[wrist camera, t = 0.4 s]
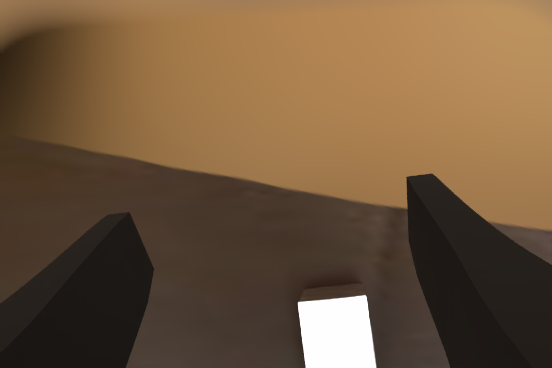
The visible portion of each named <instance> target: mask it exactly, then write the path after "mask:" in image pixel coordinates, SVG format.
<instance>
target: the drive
mask: <svg viewBox="0 0 552 368" xmlns="http://www.w3.org/2000/svg"><path fill="white" fill-rule="evenodd" d="M298 307H299V315H300V324H301V332H302V340H303V348H304V356H305V364H306V368H377V367H376V359H375V352H374V344H373V337H372V330H371V323H370V319H369V315H368V307H367V300H366V294H365V292H364V289H363V286H362V283H356V284H346V285H337V286H327V287H318V288H308V289H304V290H303V292H302V295H301V297H300V299H299V301H298Z"/></svg>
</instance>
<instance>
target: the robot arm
mask: <svg viewBox="0 0 552 368" xmlns="http://www.w3.org/2000/svg"><path fill="white" fill-rule="evenodd" d="M407 203H408V231H409V243H410V248H411V252H412V256H413V261H414V265H415V269H416V273H417V277H418V279H419V282H420V285H421V288H422V290H423V293H424V296H425V299H426V301H427V304H428V307H429V309H430V312H431V315H432V317H433V320H434V323H435V325H436V328H437V331H438V333H439V336H440V339H441V341H442V344H443V347H444V349H445V352H446V355H447V358H448V361H449V364H450V367H451V368H552V265H551V264H549V263H548V262H546V261H544V260H543V259H541V258H539V257H538V256H536V255H534V254H533V253H531V252H529V251H528V250H526V249H524V248H523V247H521V246H520V245H518V244H517V243H515V242H514V241H513V240H511V239H510V238H508V237H507V236H506V235H504V234H503V233H501V232H500V231H499V230H497V229H496V228H495V227H493V226H492V225H491V224H490V223H488V222H487V221H486V220H485V219H483V218H482V217H481V216H480V215H479V214H477V213H476V212H475V211H474V210H472V209H471V208H470V207H469V206H468V205H466V204H465V203H464V202H463V201H462V200H461V199H460V198H459V197H457V196H456V195H455V194H454V193H453V192H452V191H451V190H450V189H449V188H448V187H447V186H445V185H444V184H443V183H442V182H441V181H440V180H439V179H438V178H437V177H436V176H434V175H433V174H425V175H417V176H410V177H407ZM153 271H154V268H153V266H152V263H151V261H150V259H149V256H148V254H147V252H146V250H145V247H144V245H143V243H142V240H141V238H140V236H139V233H138V231H137V229H136V226H135V224H134V222H133V219H132V217H131V215H130V213H129V212H127V213H119V214H111V215H107V216H106V217H104V218H103V219H102V220H100V221H99V222H98V223H97V224H95V225H94V226H93V227H92V228H91V229H89V230H88V231H87V232H86V233H85V234H84V235H83V236H81V237H80V238H79V239H78V240H77V241H76V242H75V243H73V244H72V245H71V246H70V247H69V248H68V249H67V250H65V251H64V252H63V253H62V254H61V255H60V256H59V257H57V258H56V259H55V260H54V261H53V262H52V263H51V264H49V265H48V266H47V267H46V268H45V269H43V270H42V271H41V272H40V273H38V274H37V275H36V276H35V277H34V278H32V279H31V280H30V281H29V282H27V283H26V284H25V285H24V286H23V287H21V288H20V289H19V290H18V291H16V292H15V293H14V294H13V295H11V296H10V297H9V298H7V299H6V300H5V301H3V302H2V303H0V368H126V365H127V362H128V359H129V356H130V353H131V351H132V348H133V345H134V342H135V339H136V336H137V333H138V330H139V327H140V324H141V321H142V318H143V315H144V312H145V309H146V306H147V303H148V298H149V294H150V289H151V283H152V277H153Z"/></svg>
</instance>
